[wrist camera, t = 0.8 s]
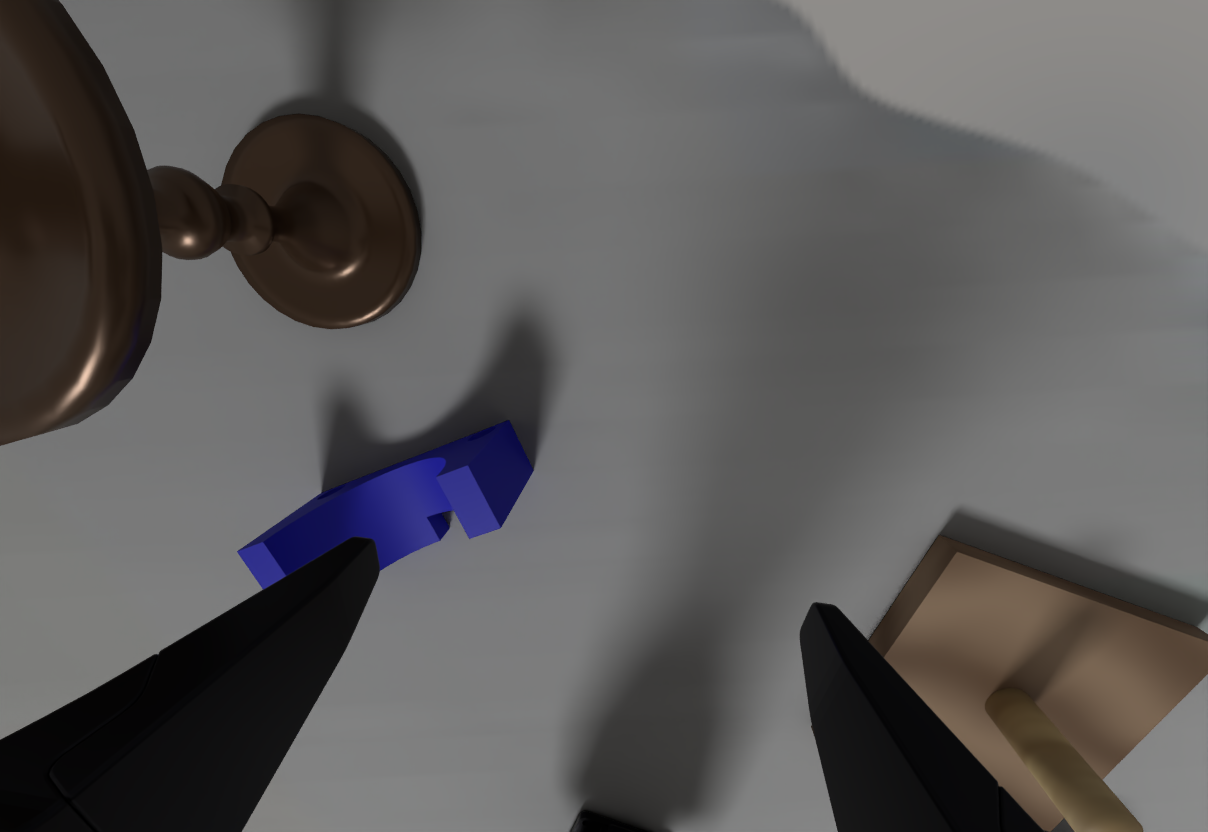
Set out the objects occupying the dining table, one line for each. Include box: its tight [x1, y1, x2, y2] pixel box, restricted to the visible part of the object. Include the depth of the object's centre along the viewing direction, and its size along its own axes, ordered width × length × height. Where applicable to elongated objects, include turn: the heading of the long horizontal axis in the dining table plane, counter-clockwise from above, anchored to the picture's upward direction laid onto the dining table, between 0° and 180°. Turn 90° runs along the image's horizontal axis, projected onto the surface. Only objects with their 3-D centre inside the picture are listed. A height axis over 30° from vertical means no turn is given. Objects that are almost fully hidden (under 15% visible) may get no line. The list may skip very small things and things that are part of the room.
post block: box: [811, 535, 1208, 832], centre depth 23 cm, size 14×14×8 cm
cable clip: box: [237, 420, 534, 589], centre depth 24 cm, size 12×4×6 cm, turn 113°
